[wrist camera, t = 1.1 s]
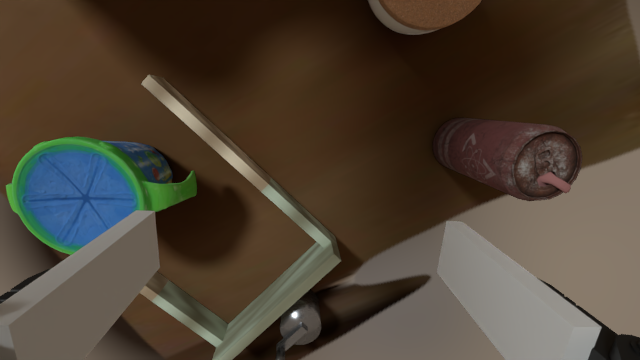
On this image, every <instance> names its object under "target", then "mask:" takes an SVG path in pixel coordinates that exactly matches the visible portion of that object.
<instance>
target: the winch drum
mask: <svg viewBox="0 0 640 360" xmlns="http://www.w3.org/2000/svg"><path fill="white" fill-rule="evenodd" d="M320 331H321V320H320V308H319V300H318V297H317V295H316V294H315V293H314V292H313V291H311V290H309V291H307V292H306V293H305V294H304V295H303V296H302V297H301V298H300V299H299V300H297V301H296V302H295V303H294V304H293V305H292V306H291V307H290V308H289V309H288V310H286V311H285V312H284V313H283V314H282V315H281V323H280V332H281V334H282V336H283V339H282V340H281V341H280V342H279V343H277V346H276V350H277V353H276V360H284V359H285V351H286V350H287V349H288V348H290V347H291V346H292V345H293V344H296V345H303V344H307V343H310V342H312V341H313V340H315V339H316V338H317V337H318V335H319V334H320Z"/></svg>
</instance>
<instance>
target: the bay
mask: <svg viewBox="0 0 640 360" xmlns="http://www.w3.org/2000/svg"><path fill="white" fill-rule="evenodd" d="M141 84H142V85H143V86H144V87H145V88H146V89H148V90H149V91H150V92H151V93H152V94H153V95H154V96H155V97H157V98H158V99H159V100H160V101H161V102H162V103H163V104H164V105H165V106H167V107H168V108H169V109H170V110H171V111H172V112H173V113H174V114H175V115H177V116H178V117H179V118H180V119H181V120H182V121H183V122H184V123H185V124H187V125H188V126H189V127H190V128H191V129H192V130H193V131H194V132H195V133H197V134H198V135H199V136H200V137H201V138H202V139H203V140H204V141H205V142H207V143H208V144H209V145H210V146H211V147H212V148H213V149H214V150H215V151H217V152H218V153H219V154H220V155H221V156H222V157H223V158H224V159H225V160H227V161H228V162H229V163H230V164H231V165H232V166H233V167H234V168H235V169H237V170H238V171H239V172H240V173H241V174H242V175H243V176H244V177H245V178H247V179H248V180H249V181H250V182H251V183H252V184H253V185H254V186H255V187H257V188H258V189H259V190H260V191H261V192H262V193H263V194H264V195H265V196H267V197H268V198H269V199H270V200H271V201H272V202H273V203H274V204H275V205H277V206H278V207H279V208H280V209H281V210H282V211H283V212H284V213H285V214H287V215H288V216H289V217H290V218H291V219H292V220H293V221H294V222H295V223H297V224H298V225H299V226H300V227H301V228H302V229H303V230H304V231H305V232H307V233H308V234H309V235H310V236H311V237H312V238H313V239H314V240H315V241H317V242H316V243H315V244H314V245H313V246H312V247H311V248H310V249H309V250H308V251H307V252H305V253H304V254H303V255H302V256H301V257H300V258H299V259H298V260H297V261H296V262H295V263H294V264H293V265H292V266H290V267H289V268H288V269H287V270H286V271H285V272H284V273H283V274H282V275H281V276H280V277H279V278H278V279H277V280H275V281H274V282H273V283H272V284H271V285H270V286H269V287H268V288H267V289H266V290H265V291H264V292H263V293H261V294H260V295H259V296H258V297H257V298H256V299H255V300H254V301H253V302H252V303H251V304H250V305H249V306H248V307H246V308H245V309H244V310H243V311H242V312H241V313H240V314H239V315H238V316H237V317H236V318H235V319H234V320H233V321H231V322H230V323H229V324H227V323H226V322H225V321H223V320H222V319H221V318H219V317H218V316H217V315H215V314H214V313H212V312H211V311H210V310H208V309H207V308H206V307H204V306H203V305H202V304H200V303H199V302H198V301H196V300H195V299H194V298H192V297H191V296H190V295H188V294H187V293H185V292H184V291H183V290H181V289H180V288H179V287H177V286H176V285H175V284H173V283H172V282H171V281H169V280H168V279H167V278H165V277H164V276H163V275H161V274H160V273H158V272H157V271H156V273H155V274H154V275H153V276H152V278H151V279H150V280H149V281H148V282H147V284H146V285H145V286H144V287H143V288H142V290H141V291H140V292H139V293H141V294H142V295H144V296H145V297H146V298H148V299H149V300H151V301H152V302H153V303H155V304H156V305H158V306H159V307H161V308H162V309H163V310H165V311H166V312H168V313H169V314H170V315H172V316H173V317H175V318H176V319H177V320H179V321H180V322H182V323H183V324H184V325H186V326H187V327H189V328H190V329H191V330H193V331H194V332H196V333H197V334H199V335H200V336H201V337H203V338H204V339H206V340H207V341H208V342H210V343H211V344H213V345H214V346H215V347H216V350H215V353H214V356H213V359H212V360H232V359H233V358H235V357H236V356H237V355H238V354H239V353H240V352H241V351H242V350H243V349H245V348H246V347H247V346H248V345H249V344H250V343H251V342H252V341H253V340H254V339H256V338H257V337H258V336H259V335H260V334H261V333H262V332H263V331H264V330H265V329H267V328H268V327H269V326H270V325H271V324H272V323H273V322H274V321H275V320H277V319H278V318H279V317H280V316H281V315H282V314H283V313H284V312H285V311H286V310H288V309H289V308H290V307H291V306H292V305H293V304H294V303H295V302H296V301H297V300H299V299H300V298H301V297H302V296H303V295H304V294H305V293H306V292H307V291H309V290H310V289H311V288H312V287H313V286H314V285H315V284H316V283H317V282H318V281H320V280H321V279H322V278H323V277H324V276H325V275H326V274H327V273H328V272H330V271H331V270H332V269H333V268H334V267H335V266H336V265H337V264H338V263H339V262H341V257H340V254H339V250H338V246H337V242H336V238H335V236H334V235H333V234H332V233H331V232H330V231H328V230H327V229H326V228H325V227H324V226H323V225H322V224H321V223H320V222H319V221H318V220H317V219H315V218H314V217H313V216H312V215H311V214H310V213H309V212H308V211H307V210H306V209H305V208H304V207H302V206H301V205H300V204H299V203H298V202H297V201H296V200H295V199H294V198H293V197H292V196H291V195H289V194H288V193H287V192H286V191H285V190H284V189H283V188H282V187H281V186H280V185H279V184H278V183H276V182H275V181H274V180H273V179H272V178H271V177H270V176H269V175H268V174H267V173H266V172H265V171H263V170H262V169H261V168H260V167H259V166H258V165H257V164H256V163H255V162H254V161H253V160H252V159H250V158H249V157H248V156H247V155H246V154H245V153H244V152H243V151H242V150H241V149H240V148H239V147H237V146H236V145H235V144H234V143H233V142H232V141H231V140H230V139H229V138H228V137H227V136H226V135H225V134H223V133H222V132H221V131H220V130H219V129H218V128H217V127H216V126H215V125H214V124H213V123H212V122H210V121H209V120H208V119H207V118H206V117H205V116H204V115H203V114H202V113H201V112H200V111H199V110H197V109H196V108H195V107H194V106H193V105H192V104H191V103H190V102H189V101H188V100H187V99H186V98H184V97H183V96H182V95H181V94H180V93H179V92H178V91H177V90H176V89H175V88H174V87H173V86H171V85H170V84H169V83H168V82H167V81H166V80H165V79H164V78H163V77H158V76H153V75H148V76H147V77H146V78H145V80H144V81H143V82H142V83H141Z"/></svg>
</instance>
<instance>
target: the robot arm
mask: <svg viewBox="0 0 640 360" xmlns="http://www.w3.org/2000/svg"><path fill="white" fill-rule="evenodd" d="M159 268H160V264H159V253H158V242H157V231H156V219H155V211H140V210H136V211H134V212H133V213H132V214H130V215H129V216H127V217H126V218H124V219H123V220H121V221H120V222H119V223H117V224H116V225H114V226H113V227H111V228H110V229H108V230H107V231H105V232H104V233H103V234H101V235H100V236H98V237H97V238H95V239H94V240H92V241H91V242H90V243H88V244H87V245H85V246H84V247H82V248H81V249H79V250H78V251H76V252H75V253H74V254H72V255H71V256H69V257H68V258H66V259H65V260H63V261H62V262H61V263H59V264H58V265H56V266H55V267H53V268H52V269H48V270H45V271H43V272H41V273H38V274H36V275H34V276H32V277H30V278H27V279H26V280H24V281H23V282H21V283H20V284H18V285H17V286H15V287H14V288H12V289H11V291H10V292H7V293H5V294H4V295H2V296H0V360H84V359H85V358H86V356H87V355H88V354H89V353H90V352H91V351H92V349H93V348H94V347H95V346H96V344H97V343H98V342H99V341H100V340H101V338H102V337H103V336H104V334H105V333H106V332H107V331H108V330H109V329H110V327H111V326H112V325H113V324H114V323H115V321H116V320H117V319H118V318H119V316H120V315H121V314H122V313H123V312H124V310H125V309H126V308H127V307H128V306H129V304H130V303H131V302H132V301H133V299H134V298H135V297H136V296H137V295H138V293H139V292H140V291H141V290H142V288H143V287H144V286H145V285H146V284H147V282H148V281H149V280H150V279H151V278H152V276H153V275H154V274H155V273H156V271H157V270H158V269H159ZM437 274H438V275H439V276H440V278H441V279H442V280H443V281H444V283H445V284H446V285H447V286H448V288H449V289H450V290H451V291H452V293H453V294H454V295H455V297H456V298H457V299H458V300H459V302H460V303H461V304H462V306H463V307H464V308H465V309H466V311H467V312H468V313H469V314H470V315H471V317H472V318H473V320H474V321H475V322H476V323H477V324H478V326H479V327H480V328H481V330H482V331H483V332H484V333H485V335H486V336H487V337H488V339H489V340H490V341H491V342H492V344H493V345H494V346H495V347H496V349H497V350H498V351H499V353H500V354H501V355H502V356H503V358H504V359H505V360H640V338H639V337H636V336H632V335H624V334H621V335H617V334H616V333H615V332H613V331H612V330H611V329H609V328H608V327H607V326H605V325H604V324H603V323H601V322H600V321H599V320H597V319H596V318H595V317H593V316H592V315H590V314H589V313H588V312H587V311H585V310H584V309H583V308H581V307H580V306H576V304H575V303H574V302H573V301H572V300H570V299H569V298H568V297H564V294H562V293H561V292H559V291H558V290H557V289H555V288H554V287H553V286H551V285H550V284H548V283H546V282H544V281H542V280H540V279H538V278H536V277H535V276H534V275H532V274H531V273H530V272H528V271H527V270H526V269H524V268H523V267H522V266H520V265H519V264H518V263H516V262H515V261H514V260H512V259H511V258H510V257H508V256H507V255H506V254H504V253H503V252H502V251H500V250H499V249H498V248H497V247H495V246H494V245H493V244H491V243H490V242H489V241H487V240H486V239H485V238H483V237H482V236H481V235H479V234H478V233H476V232H475V231H474V230H473V229H471V228H470V227H469V226H467V225H466V224H465V223H463V222H461V221H460V222H459V221H446V226H445V231H444V237H443V242H442V247H441V252H440V257H439V263H438V268H437Z"/></svg>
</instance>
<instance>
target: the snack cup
mask: <svg viewBox="0 0 640 360" xmlns="http://www.w3.org/2000/svg"><path fill="white" fill-rule="evenodd" d="M172 177H173V175H172V171H171V169H170V167H169V165H168V163H167V161H166V159H165V158H164V157H163V155H161V154H160V153H159V152H157V151H156V149H155V148H153V147H151V146H149V145H144V144H141V143H134V142H117V141H100V140H97V139H91V138H86V137H66V138H61V139H56V140H52V141H45V142H42V143H39V144H38V145H36V146H34V147H33V149H32V150H30V151H29V152H28V153H27V154H26V155H25V156H24V157H23V158H22V159H21V161H20V162H19V164H18V165H17V168H16V170H15V173H14V176H13V180H12V183H10V184H8V185H6V190H7V195H8V199H9V202H10V205H11V207H12V210H13V211H14V212H16V213H17V214H19V216H20V218H21V220H22V221H23V223H24V224H25V226H26V227H27V228H28V229H29V230H30V231H31V232H32V233H33V234H34V235H35V236H36V237H37V238H38V239H40V240H41V241H42V242H44V243H45V244H47V245H49V246H50V247H52V248H54V249H56V250H58V251H61V252H64V253H67V254H70V255H72V254H74V253H75V252H76V251H78V250H79V249H81V248H82V247H84V246H85V245H87V244H88V243H90V242H91V241H92V240H94V239H95V238H97V237H98V236H100V235H101V234H103V233H104V232H105V231H107V230H108V229H110V228H111V227H113V226H114V225H116V224H117V223H119V222H120V221H121V220H123V219H124V218H126V217H127V216H129V215H130V214H132V213H133V212H134V211H136V210H140V211H155V212H158V211H160V210H162V209H166V208H167V207H169V206H173V205H175V204H177V203H179V202H181V201H184V200H186V199H188V198H191V197H194V196H196V193H197V184H196V176H195V171H191V173H190V175H189V176H188V177H187V179H186V180H185V181H183V182H181V183H172Z"/></svg>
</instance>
